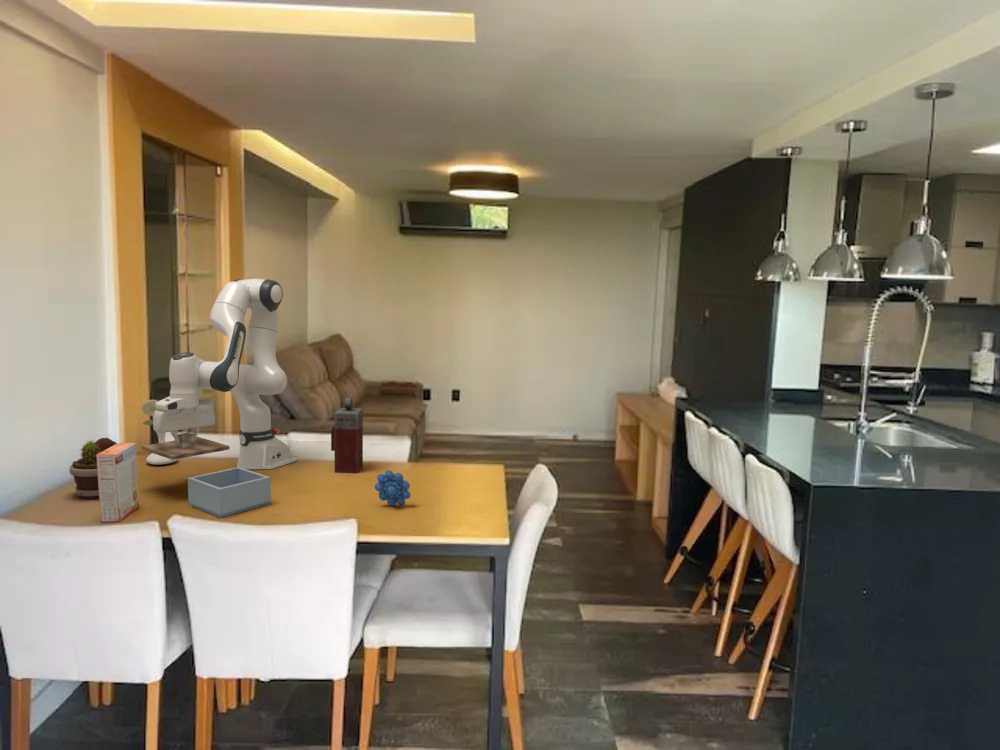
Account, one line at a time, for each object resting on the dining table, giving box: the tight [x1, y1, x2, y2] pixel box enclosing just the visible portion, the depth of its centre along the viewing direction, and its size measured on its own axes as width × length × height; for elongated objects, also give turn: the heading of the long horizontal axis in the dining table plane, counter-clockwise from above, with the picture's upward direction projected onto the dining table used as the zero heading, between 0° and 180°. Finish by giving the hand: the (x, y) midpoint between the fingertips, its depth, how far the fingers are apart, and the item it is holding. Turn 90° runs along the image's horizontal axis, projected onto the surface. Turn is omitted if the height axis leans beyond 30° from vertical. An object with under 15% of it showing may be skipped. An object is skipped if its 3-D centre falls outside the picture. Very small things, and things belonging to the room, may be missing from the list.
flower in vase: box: [140, 399, 179, 466], centre depth 271 cm, size 13×11×25 cm
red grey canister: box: [330, 397, 364, 474], centre depth 268 cm, size 9×11×28 cm
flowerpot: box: [69, 439, 101, 500], centre depth 231 cm, size 14×15×20 cm
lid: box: [141, 432, 230, 460], centre depth 237 cm, size 20×20×5 cm
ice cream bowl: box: [94, 437, 118, 453], centre depth 250 cm, size 11×11×15 cm
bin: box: [187, 467, 272, 519], centre depth 226 cm, size 18×18×9 cm
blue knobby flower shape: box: [374, 469, 411, 507], centre depth 228 cm, size 12×7×12 cm, turn 92°
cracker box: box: [96, 442, 140, 523], centre depth 213 cm, size 14×6×21 cm, turn 5°
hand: (185, 441), depth 237 cm, fingers closed on lid, 4 cm apart
